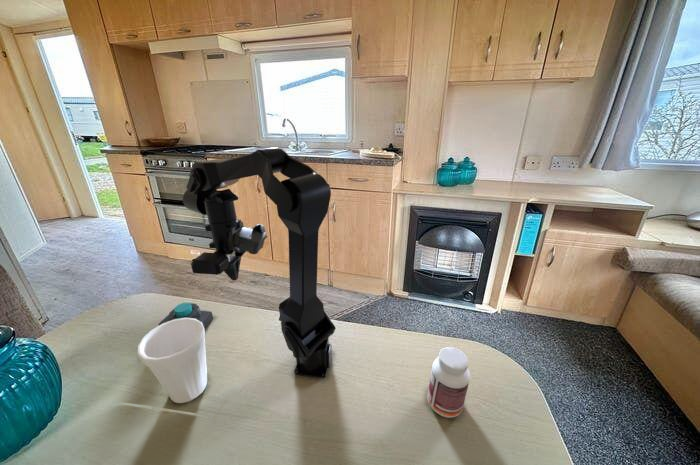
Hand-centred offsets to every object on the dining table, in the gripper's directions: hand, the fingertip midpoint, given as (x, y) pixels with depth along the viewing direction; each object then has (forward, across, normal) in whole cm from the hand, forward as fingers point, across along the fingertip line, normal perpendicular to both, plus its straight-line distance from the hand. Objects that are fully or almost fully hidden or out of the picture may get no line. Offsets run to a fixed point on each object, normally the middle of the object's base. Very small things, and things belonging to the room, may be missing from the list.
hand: (235, 279), depth 66 cm
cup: (+12, -20, +1) cm, 23 cm away
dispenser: (+12, -4, +12) cm, 17 cm away
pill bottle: (+12, -17, -47) cm, 52 cm away
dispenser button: (+8, -4, +12) cm, 15 cm away
